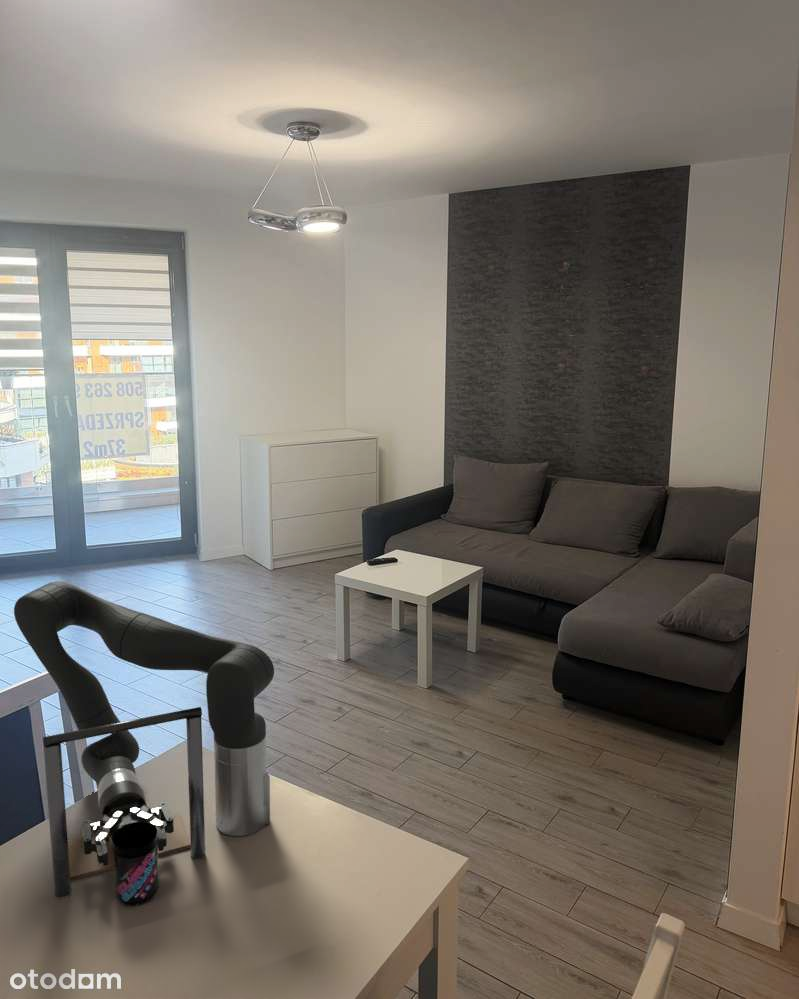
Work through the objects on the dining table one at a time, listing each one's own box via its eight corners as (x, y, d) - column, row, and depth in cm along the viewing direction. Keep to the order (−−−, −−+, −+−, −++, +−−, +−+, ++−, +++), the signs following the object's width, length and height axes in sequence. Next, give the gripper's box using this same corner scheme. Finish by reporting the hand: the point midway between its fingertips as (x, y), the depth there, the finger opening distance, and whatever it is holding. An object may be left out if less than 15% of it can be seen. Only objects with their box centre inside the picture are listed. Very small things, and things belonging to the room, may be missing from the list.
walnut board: (179, 815, 140) (179, 812, 140) (190, 847, 132) (190, 844, 132) (62, 845, 131) (62, 842, 131) (66, 881, 123) (66, 878, 123)
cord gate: (203, 848, 131) (199, 704, 126) (206, 857, 129) (202, 710, 124) (54, 890, 121) (42, 734, 115) (55, 899, 119) (43, 741, 113)
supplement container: (107, 905, 118) (103, 846, 116) (128, 875, 124) (125, 819, 122) (147, 910, 117) (144, 851, 115) (167, 881, 124) (164, 824, 121)
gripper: (77, 789, 131) (85, 844, 117) (161, 770, 137) (178, 820, 123) (79, 827, 133) (87, 886, 118) (162, 807, 139) (180, 861, 125)
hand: (134, 853), depth 121 cm, fingers open, 8 cm apart
